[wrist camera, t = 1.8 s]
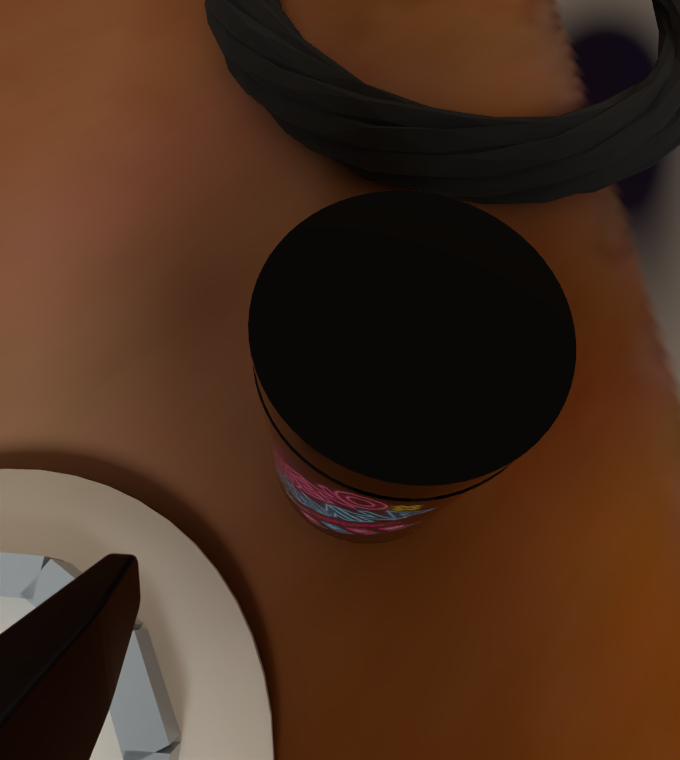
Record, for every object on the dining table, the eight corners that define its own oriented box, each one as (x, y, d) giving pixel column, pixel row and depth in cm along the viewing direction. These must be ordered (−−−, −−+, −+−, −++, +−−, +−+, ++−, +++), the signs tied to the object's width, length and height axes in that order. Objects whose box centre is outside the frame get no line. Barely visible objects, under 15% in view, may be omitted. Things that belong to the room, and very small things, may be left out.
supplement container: (260, 384, 22) (226, 208, 12) (428, 358, 23) (519, 173, 13) (288, 564, 20) (274, 519, 10) (475, 527, 20) (629, 452, 11)
